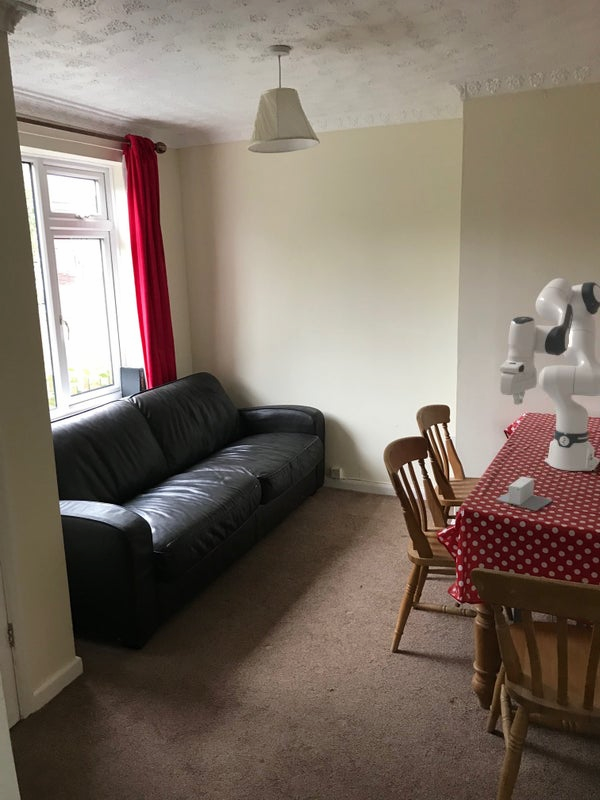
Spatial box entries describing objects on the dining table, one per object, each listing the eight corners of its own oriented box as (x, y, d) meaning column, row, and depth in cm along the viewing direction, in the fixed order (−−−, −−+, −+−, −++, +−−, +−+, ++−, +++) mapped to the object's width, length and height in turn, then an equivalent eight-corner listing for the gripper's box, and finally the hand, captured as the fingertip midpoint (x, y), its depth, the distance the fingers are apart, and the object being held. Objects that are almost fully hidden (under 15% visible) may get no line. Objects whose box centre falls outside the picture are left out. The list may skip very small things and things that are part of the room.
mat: (512, 491, 230) (512, 490, 230) (552, 501, 220) (552, 499, 220) (495, 500, 221) (495, 499, 221) (535, 510, 212) (536, 509, 212)
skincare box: (521, 476, 226) (508, 485, 216) (534, 478, 223) (521, 487, 214) (520, 493, 227) (507, 502, 218) (533, 495, 224) (520, 505, 215)
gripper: (525, 360, 239) (523, 398, 242) (497, 367, 225) (495, 407, 227) (542, 362, 235) (540, 400, 237) (515, 369, 220) (513, 409, 223)
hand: (518, 403), depth 232 cm, fingers closed
